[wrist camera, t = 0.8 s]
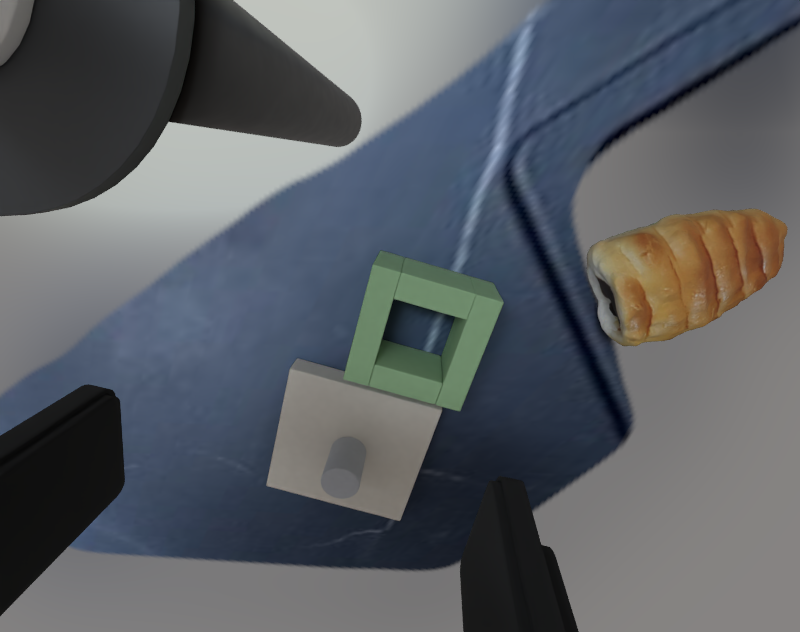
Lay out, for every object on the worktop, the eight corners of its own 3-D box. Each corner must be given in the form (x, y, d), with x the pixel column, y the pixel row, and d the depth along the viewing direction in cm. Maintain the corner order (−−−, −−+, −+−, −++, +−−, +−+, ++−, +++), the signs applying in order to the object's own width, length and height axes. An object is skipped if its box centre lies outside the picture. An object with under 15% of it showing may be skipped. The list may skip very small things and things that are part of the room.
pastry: (752, 173, 21) (819, 176, 17) (768, 287, 23) (831, 311, 19) (572, 245, 23) (599, 261, 19) (602, 344, 25) (631, 376, 21)
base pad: (296, 357, 27) (272, 394, 22) (441, 397, 27) (444, 441, 23) (273, 471, 30) (248, 521, 26) (401, 505, 31) (397, 560, 26)
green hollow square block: (380, 249, 24) (372, 264, 20) (494, 282, 24) (504, 302, 21) (353, 352, 26) (342, 379, 23) (456, 381, 26) (460, 412, 23)
